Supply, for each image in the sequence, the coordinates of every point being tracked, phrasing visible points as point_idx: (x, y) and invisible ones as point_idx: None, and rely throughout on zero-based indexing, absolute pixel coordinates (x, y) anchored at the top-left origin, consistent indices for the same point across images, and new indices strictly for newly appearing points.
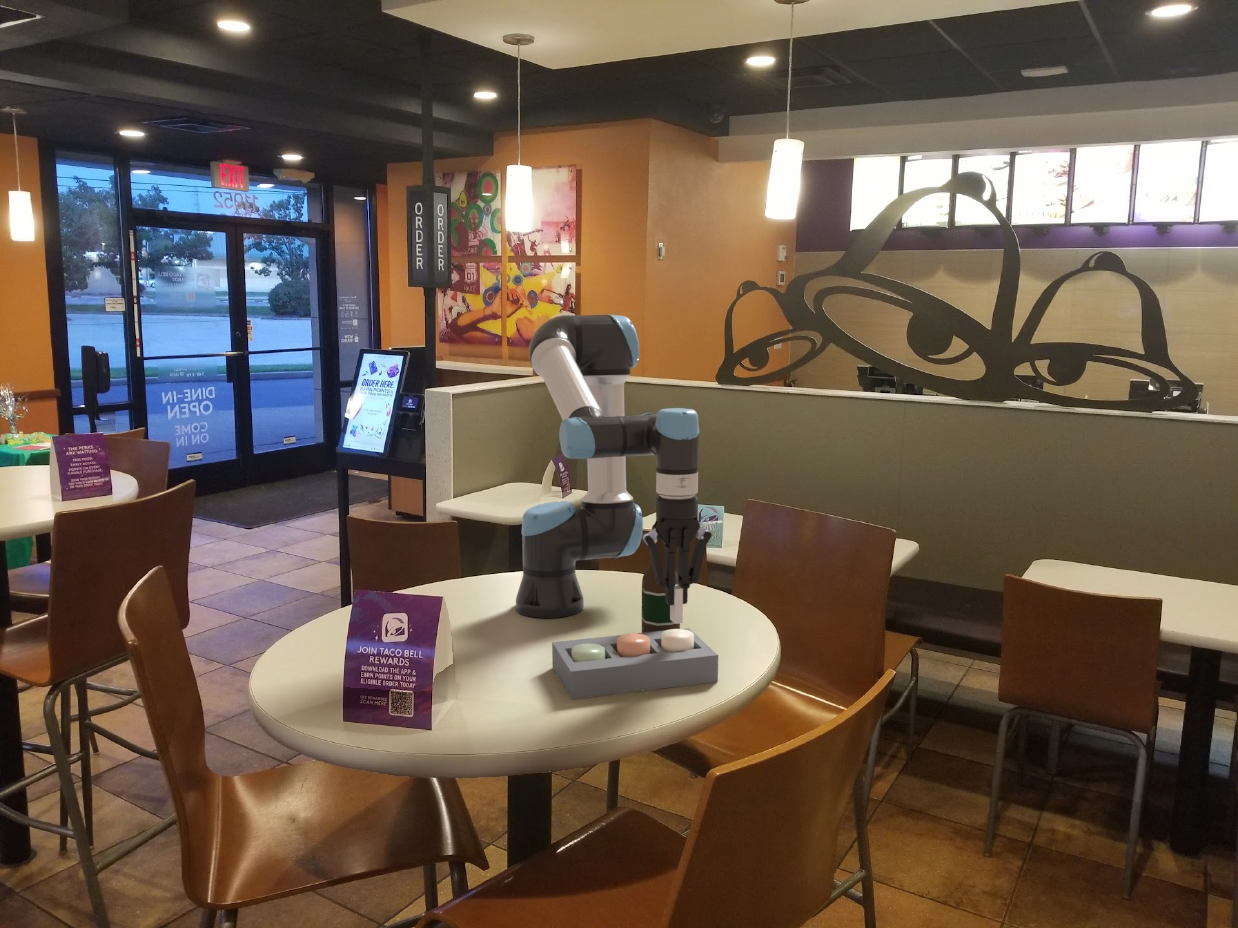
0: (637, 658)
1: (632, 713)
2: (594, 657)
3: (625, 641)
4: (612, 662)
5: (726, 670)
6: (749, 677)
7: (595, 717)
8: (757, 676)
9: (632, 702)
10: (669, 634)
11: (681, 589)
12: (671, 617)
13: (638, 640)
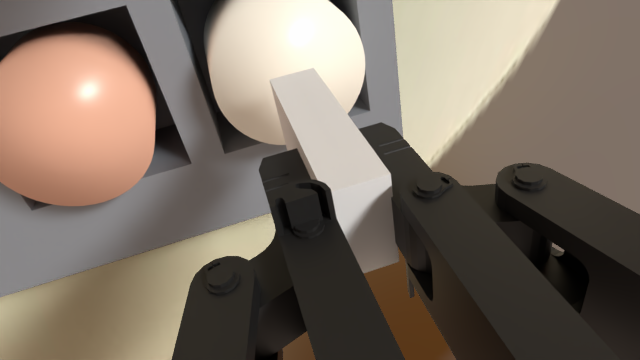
0: (109, 217)
1: (125, 312)
2: None
3: (29, 170)
4: (9, 257)
5: (422, 40)
6: (465, 96)
7: (27, 340)
8: (488, 89)
9: (117, 263)
10: (252, 75)
11: (387, 260)
12: (278, 108)
13: (96, 155)
